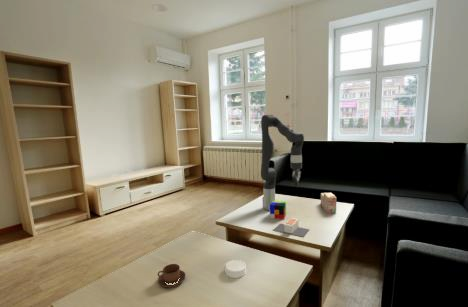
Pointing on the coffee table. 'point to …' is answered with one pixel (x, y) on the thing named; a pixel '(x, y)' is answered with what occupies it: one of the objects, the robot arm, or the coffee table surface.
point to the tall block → (291, 225)
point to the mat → (297, 232)
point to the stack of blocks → (328, 202)
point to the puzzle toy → (278, 209)
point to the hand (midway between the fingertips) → (296, 186)
